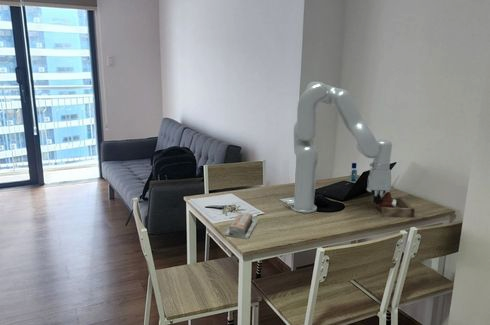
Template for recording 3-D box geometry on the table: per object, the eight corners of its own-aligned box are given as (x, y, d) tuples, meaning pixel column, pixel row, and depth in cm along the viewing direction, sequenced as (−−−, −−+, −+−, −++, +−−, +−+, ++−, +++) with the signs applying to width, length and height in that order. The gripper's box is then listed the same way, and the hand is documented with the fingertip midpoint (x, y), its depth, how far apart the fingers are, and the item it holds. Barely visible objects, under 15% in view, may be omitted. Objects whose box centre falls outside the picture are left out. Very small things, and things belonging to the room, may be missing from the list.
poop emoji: (377, 205, 203) (379, 187, 200) (395, 208, 200) (397, 190, 198) (376, 212, 194) (378, 193, 191) (395, 214, 191) (397, 195, 188)
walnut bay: (382, 216, 188) (383, 208, 187) (371, 204, 205) (372, 196, 204) (413, 217, 188) (414, 209, 187) (400, 205, 205) (401, 197, 204)
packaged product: (249, 228, 158) (224, 225, 161) (248, 240, 160) (224, 237, 162) (258, 212, 176) (235, 210, 178) (257, 223, 177) (235, 220, 179)
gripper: (367, 167, 187) (363, 205, 192) (399, 168, 187) (394, 206, 192) (362, 163, 195) (359, 200, 199) (394, 164, 195) (389, 201, 199)
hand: (376, 203), depth 195 cm, fingers closed
